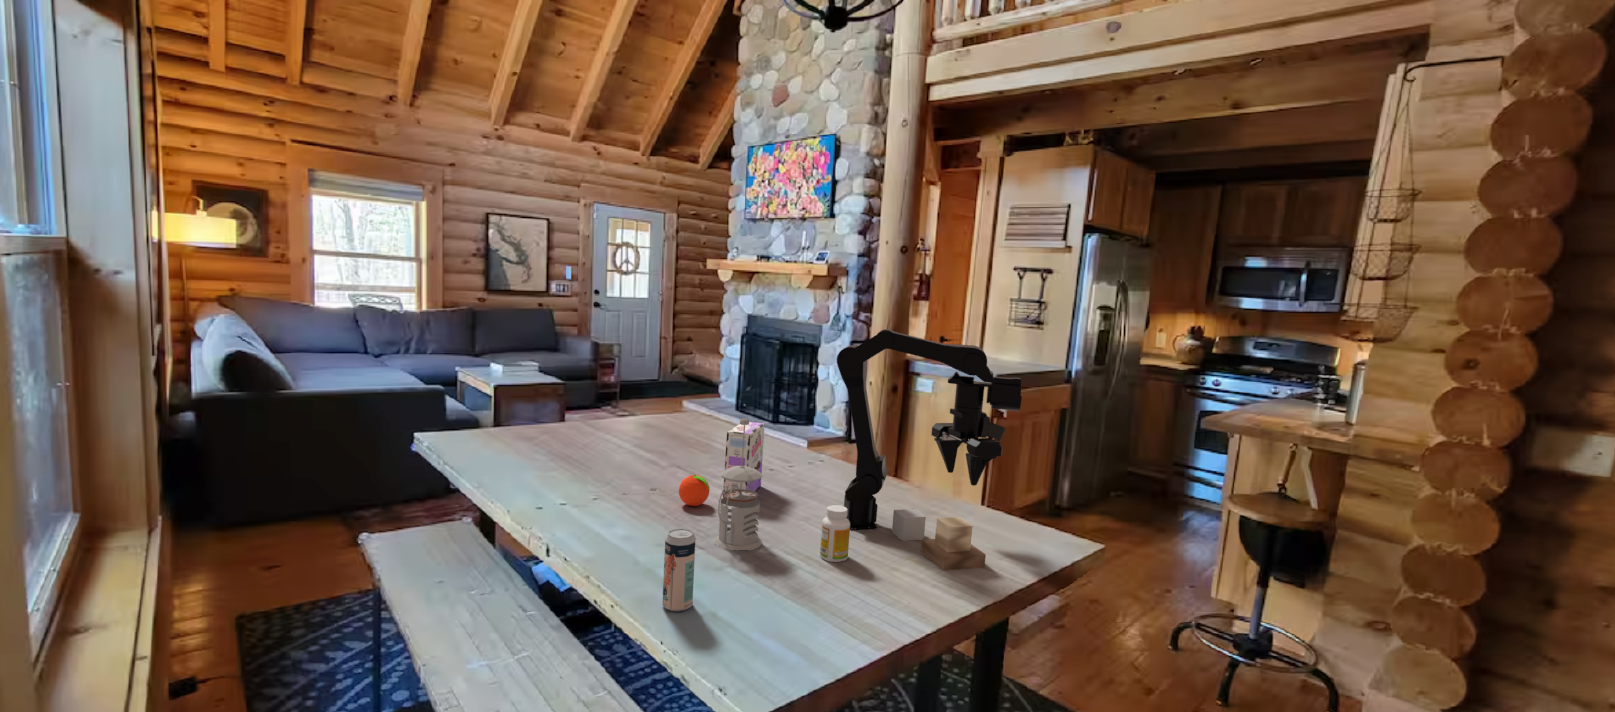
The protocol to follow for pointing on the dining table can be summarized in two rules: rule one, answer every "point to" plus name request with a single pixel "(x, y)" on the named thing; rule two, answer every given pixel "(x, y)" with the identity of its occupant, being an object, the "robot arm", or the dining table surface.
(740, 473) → the french press
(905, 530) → the grey cube
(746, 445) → the candy box
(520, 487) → the dining table surface
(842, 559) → the supplement bottle
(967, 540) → the maple cube
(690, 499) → the clementine
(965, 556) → the walnut block
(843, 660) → the dining table surface
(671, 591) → the beer can
